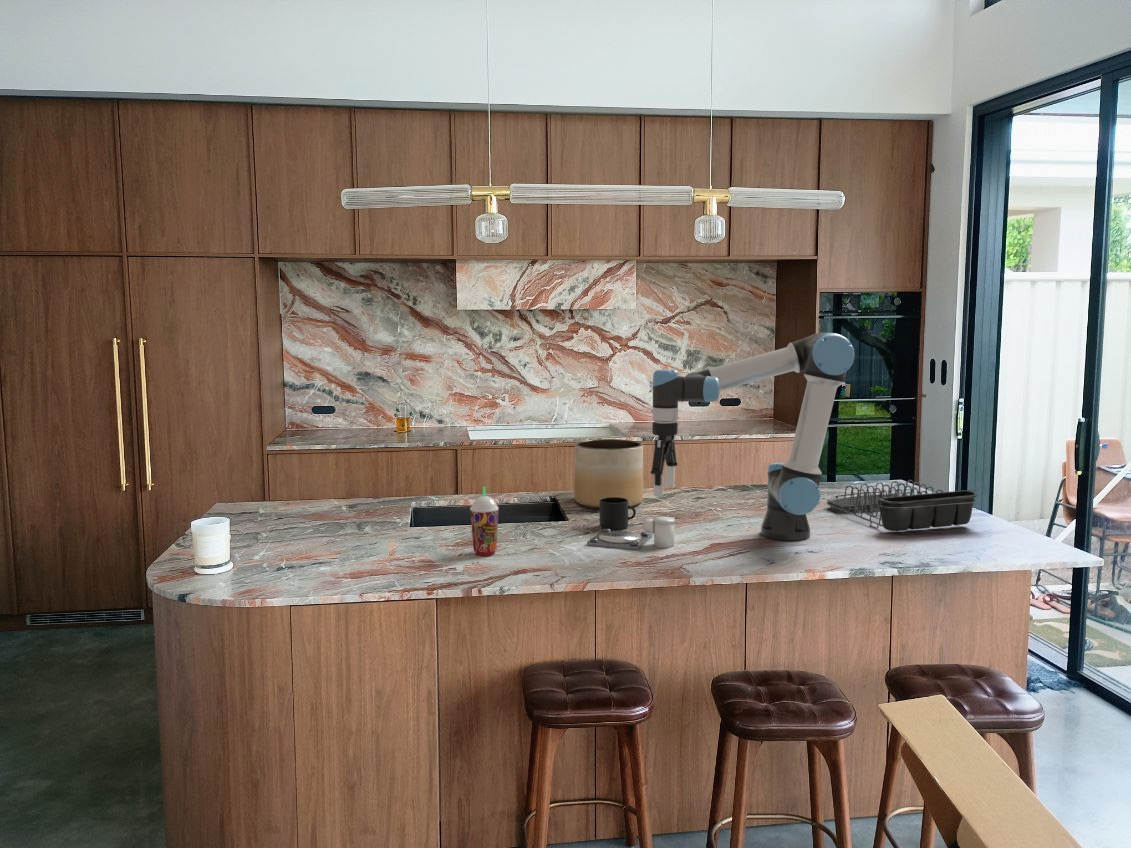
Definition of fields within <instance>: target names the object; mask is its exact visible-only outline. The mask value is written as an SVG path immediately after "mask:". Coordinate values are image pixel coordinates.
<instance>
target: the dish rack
mask: <svg viewBox="0 0 1131 848" xmlns="http://www.w3.org/2000/svg"><path fill="white" fill-rule="evenodd" d="M909 482H911V483H912V485H908V484H909ZM894 483H895V484H897V485H896V486H897V488H896V487H895V486H893V484H894ZM905 483H906V484H905ZM905 483H903V482H900V483H899V482H898V481H897V480H892V482H891V483H890V485H889V484H883V482H880V481H879V482H877V483H876V484H875V487H874V486H873V485H868V484H867V483H863V484H861V485H860V489H859V488H858V487H856V486H855V487H853V486H852V485H850V484H849V485H846V487H845V490H844V494H838V495H834V496H833V497H834V498H835V499H828V498H826V501H827V502H826V505H827V506H829V507H830V511H831V512H833V513H837V512H838V510H839V511H842V512H845V513H848V514H850V515H853V516H855V517H858V518H860V519H862V520H864V521H868V522H869V527H870V528H873V529H879V526H880V527H883V529H885V530H887V531H891V532H902V531H908V530H911V531H913V530H922V529H930V528H931V527H932V528H941V527H952V525H954V526H961V525H962V526H963V525H966V524H968V523H969V522H970V520H971V518H972V513H973V506H974V503H975V502H976V500H975V498H976V497H978V494H977V492H975V491H973V490H968V489H967V490H955V491H943V490H942V489H937V490H936V491H935V492H934V488H933V486H930V485H929V486H927V485H926V484H924V483H922V484H920V482H919V481H918V482H917V481H915V482H914V481H913V480H912V479H908V480H907V481H906V482H905ZM879 484H881V489H880V487H879V488H878V485H879ZM916 484H918V488H917V487H914V486H915V485H916ZM901 485H903V490H902V489H901V488H900V486H901ZM863 486H866V490H864V489H862V488H863ZM922 486H924V487H925V490H923V491H922V490H921V487H922ZM848 487H850V488H851V490H850V493H848V494H847V490H848ZM885 487H887V488H888V491H886V489H885ZM869 488H872V489H873V490H872V491H869ZM907 488H909V489H910V491H907ZM929 488H930V489H931V490H932V491H931V493H928V491H927V490H928V489H929ZM854 489H855V490H857V492H855V493H854ZM892 489H894V492H892ZM915 490H916V494H915ZM862 491H863V492H862ZM838 497H840V498H838ZM833 508H835V509H833ZM868 508H869V512H868V510H867V509H868ZM851 510H854V513H853V512H850V511H851ZM874 511H876V514H875V515H874ZM857 512H859V513H860V515H858V514H857ZM878 513H880V514H878ZM863 514H864V515H866V516H869V519H868V518H865V517H863ZM878 515H879V517H878ZM872 518H874V519H876V520H879V521H878V522H875V521H874V520H872ZM872 523H873V524H875V525H877V527H876V526H874V525H872Z"/></svg>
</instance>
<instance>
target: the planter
mask: <svg viewBox="0 0 1131 848" xmlns="http://www.w3.org/2000/svg"><path fill="white" fill-rule="evenodd" d="M573 489H574V493H573V494H574V501H575V502H577V503H578V504H579V505H581V506H582V507H586V508H591V509H599V500H600V499H602V498H607V497H619V498H625V499H627V500H628V506H632V507H636V506H637V505H639V504H641V503H642V502H643V499H644V444H643V443H642V442H640V441H637V440H636V441H635V440H631V439H619V438H600V439H599V438H598V439H596V438H595V439H587V440H581V441H578V442H576V443H575V444H574V488H573Z"/></svg>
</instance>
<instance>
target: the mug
mask: <svg viewBox="0 0 1131 848" xmlns="http://www.w3.org/2000/svg"><path fill="white" fill-rule="evenodd" d="M629 510H632V516H629ZM636 513H637V511H636V508H635V506H633V507H632V506H628V500H627V499H625V498H619V497H607V498H602V499H600V500H599V519H598V520H599V523H598V524H599V525H598V526H599V528H600V529H602V530H603V529H605V528H608V529H611V531H624V530H625V529H627V528H629V520H633V519H634V518H635V517H636Z"/></svg>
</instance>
